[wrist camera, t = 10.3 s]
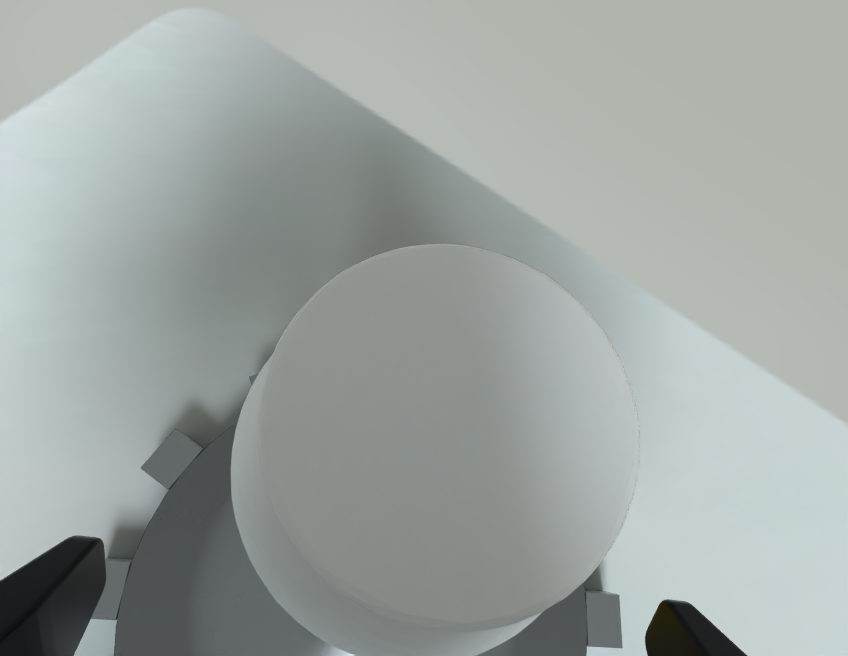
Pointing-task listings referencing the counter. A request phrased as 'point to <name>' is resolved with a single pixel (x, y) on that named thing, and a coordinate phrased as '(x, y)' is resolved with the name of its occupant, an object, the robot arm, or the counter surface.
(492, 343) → the supplement bottle
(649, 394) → the counter surface
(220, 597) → the sprocket plate
